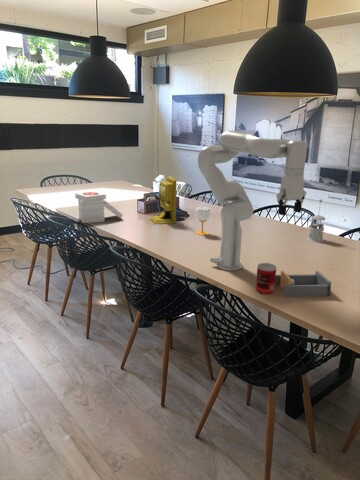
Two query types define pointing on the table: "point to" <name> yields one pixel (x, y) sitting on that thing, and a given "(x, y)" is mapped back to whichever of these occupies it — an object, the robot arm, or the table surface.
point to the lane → (306, 285)
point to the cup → (202, 218)
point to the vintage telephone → (167, 202)
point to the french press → (316, 233)
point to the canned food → (265, 278)
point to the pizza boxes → (93, 207)
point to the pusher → (285, 280)
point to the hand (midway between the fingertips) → (289, 213)
